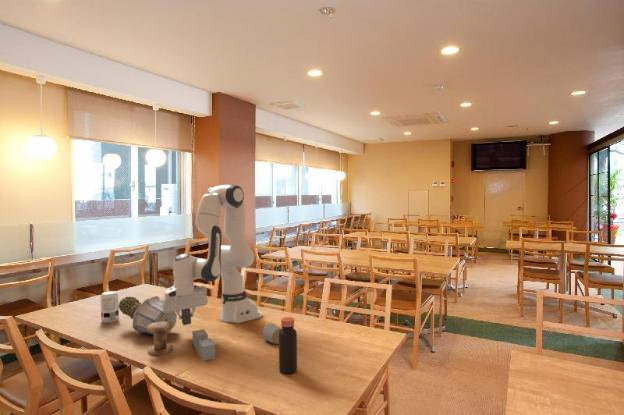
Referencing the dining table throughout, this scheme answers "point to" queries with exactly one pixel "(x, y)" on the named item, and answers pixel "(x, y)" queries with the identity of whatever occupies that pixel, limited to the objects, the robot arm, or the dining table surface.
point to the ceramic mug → (271, 333)
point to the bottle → (287, 346)
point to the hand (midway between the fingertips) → (186, 317)
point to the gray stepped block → (203, 345)
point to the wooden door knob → (160, 338)
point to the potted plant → (146, 313)
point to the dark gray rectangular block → (186, 316)
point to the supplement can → (109, 307)
